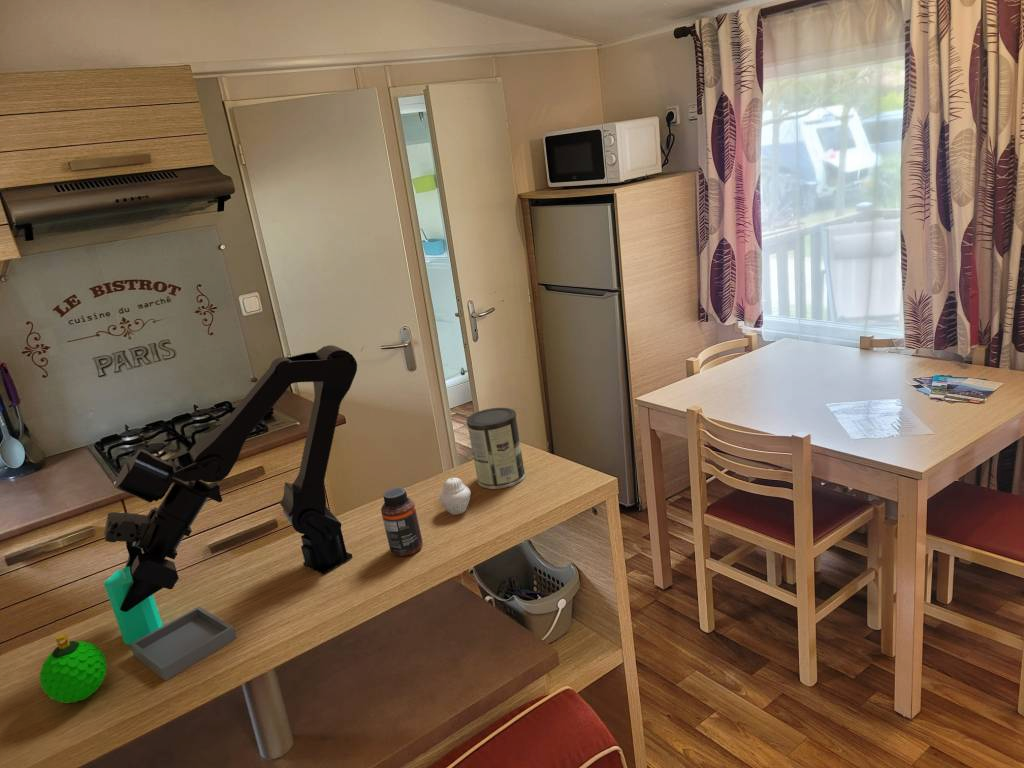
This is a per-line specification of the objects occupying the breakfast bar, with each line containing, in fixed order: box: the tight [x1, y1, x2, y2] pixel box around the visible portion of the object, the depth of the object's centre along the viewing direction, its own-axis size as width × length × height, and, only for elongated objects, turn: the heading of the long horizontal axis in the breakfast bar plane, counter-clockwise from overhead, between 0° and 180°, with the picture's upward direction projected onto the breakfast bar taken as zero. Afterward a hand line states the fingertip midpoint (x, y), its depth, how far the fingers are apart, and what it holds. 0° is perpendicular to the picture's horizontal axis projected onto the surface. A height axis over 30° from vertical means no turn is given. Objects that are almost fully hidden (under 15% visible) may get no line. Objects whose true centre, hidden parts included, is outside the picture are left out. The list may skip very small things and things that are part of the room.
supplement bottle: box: [380, 487, 424, 557], centre depth 132 cm, size 6×6×11 cm
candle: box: [103, 566, 164, 645], centre depth 118 cm, size 6×6×12 cm
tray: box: [129, 605, 237, 682], centre depth 114 cm, size 11×11×2 cm
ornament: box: [39, 632, 108, 704], centre depth 104 cm, size 8×8×10 cm
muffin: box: [438, 477, 471, 516], centre depth 144 cm, size 6×6×7 cm
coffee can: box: [465, 407, 526, 490], centre depth 155 cm, size 10×10×14 cm
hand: (121, 600), depth 117 cm, fingers open, 7 cm apart
